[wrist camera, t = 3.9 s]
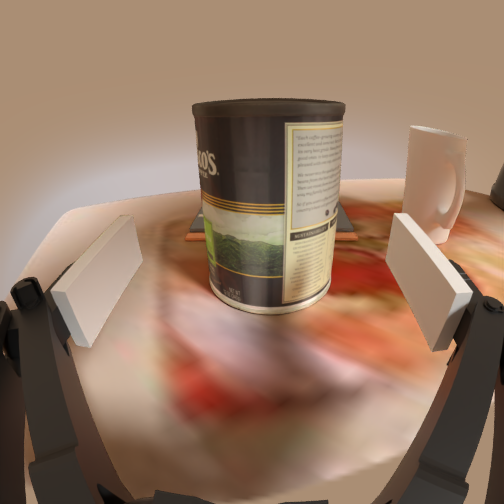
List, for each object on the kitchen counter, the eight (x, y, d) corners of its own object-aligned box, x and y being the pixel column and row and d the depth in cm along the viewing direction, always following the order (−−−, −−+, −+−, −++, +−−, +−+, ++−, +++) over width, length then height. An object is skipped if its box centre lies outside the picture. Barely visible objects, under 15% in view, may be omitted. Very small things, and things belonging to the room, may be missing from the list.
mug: (391, 219, 35) (401, 123, 30) (436, 222, 35) (449, 131, 29) (417, 261, 27) (439, 137, 21) (470, 262, 26) (495, 149, 20)
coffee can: (209, 323, 21) (184, 106, 14) (209, 251, 30) (196, 102, 23) (350, 306, 22) (373, 105, 15) (312, 242, 31) (317, 98, 24)
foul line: (355, 235, 32) (355, 232, 32) (357, 240, 31) (358, 237, 31) (188, 235, 33) (187, 233, 33) (185, 240, 32) (185, 238, 32)
